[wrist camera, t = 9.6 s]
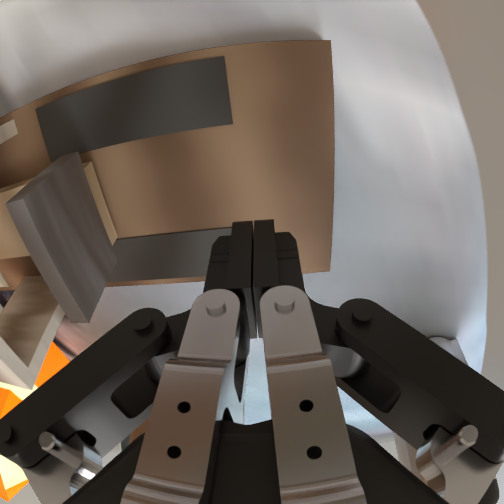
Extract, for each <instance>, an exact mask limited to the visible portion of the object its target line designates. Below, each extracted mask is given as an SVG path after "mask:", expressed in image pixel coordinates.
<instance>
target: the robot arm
mask: <svg viewBox="0 0 504 504" xmlns="http://www.w3.org/2000/svg"><path fill="white" fill-rule="evenodd" d="M257 326H258V335H259V338H263V342H264V352H265V362H266V371H267V381H268V390H269V399H270V409H271V420H267V421H264V422H260V423H256V424H252V425H244V416H243V406H244V397H245V389H246V380H247V372H248V363H249V355H248V354H249V347H250V339H253V338H257ZM337 386H338V387H339V388H341V389H342V390H343V391H344V392H345V393H347V394H348V395H349V396H350V397H351V398H353V399H354V400H355V401H356V402H357V403H359V404H360V405H361V406H362V407H364V408H365V409H366V410H367V411H368V412H370V413H371V414H372V415H373V416H375V417H376V418H377V419H378V420H380V421H381V422H382V423H383V424H385V425H386V426H387V427H388V428H390V429H391V430H392V431H393V434H394V438H395V443H396V448H397V453H398V458H399V461H397V460H396V459H395V458H394V457H393V456H392V455H391V454H389V453H388V452H387V451H386V450H385V449H384V448H383V447H381V446H380V445H379V444H378V443H377V442H376V441H375V440H374V439H372V438H371V437H370V436H369V435H367V434H366V433H364V432H363V431H361V430H359V429H357V428H355V427H353V426H351V425H348V424H346V422H345V418H344V414H343V409H342V405H341V401H340V397H339V393H338V389H337ZM148 418H149V421H148V424H147V428H146V432H144V433H143V434H141V435H140V436H138V437H137V438H136V439H135V440H133V441H132V442H131V443H130V444H129V445H128V446H127V447H126V448H125V449H124V450H123V451H121V452H120V453H119V454H118V455H117V456H116V457H115V458H114V459H113V460H112V461H111V462H109V463H108V464H107V465H106V466H105V467H104V468H103V467H102V459H101V458H102V457H103V456H105V455H106V454H107V453H108V452H110V451H111V450H112V449H113V448H114V447H116V446H117V445H118V444H119V443H120V442H121V441H123V440H124V439H125V438H126V437H127V436H128V435H130V434H131V433H132V432H133V431H134V430H135V429H137V428H138V427H139V426H140V425H141V424H142V423H143V422H144V421H146V420H147V419H148ZM0 455H2V456H3V457H5V458H7V459H8V460H10V461H12V462H14V463H15V464H17V465H18V466H19V467H20V468H21V469H22V470H23V472H24V474H25V476H26V477H27V479H28V481H29V483H30V485H31V487H32V488H33V490H34V492H35V494H36V495H37V497H38V499H39V500H40V502H41V504H496V503H497V501H498V499H499V488H498V483H497V480H496V479H494V478H496V474H497V472H498V470H499V468H500V467H501V465H502V463H503V462H504V391H503V390H501V389H500V388H499V387H497V386H496V385H494V384H493V383H492V382H490V381H489V380H487V379H486V378H485V377H483V376H482V375H480V374H479V373H478V372H476V371H475V370H473V369H472V368H471V367H469V366H468V364H467V361H466V359H465V357H464V354H463V352H462V350H461V348H460V345H459V343H458V341H457V339H454V340H448V339H446V338H443V337H432V338H427V337H426V336H424V335H423V334H421V333H420V332H418V331H417V330H415V329H414V328H412V327H411V326H409V325H408V324H407V323H405V322H404V321H402V320H401V319H399V318H398V317H396V316H395V315H393V314H392V313H390V312H389V311H387V310H386V309H384V308H383V307H381V306H380V305H378V304H377V303H375V302H373V301H371V300H367V299H361V298H357V299H352V300H349V301H346V302H345V303H343V304H342V305H341V306H340V308H334V307H328V306H324V305H321V304H318V303H316V302H314V301H313V300H312V299H311V298H309V297H308V295H307V294H306V292H305V289H304V283H303V277H302V271H301V265H300V259H299V253H298V247H297V241H296V239H295V238H294V237H293V235H292V234H291V233H290V232H275V228H274V219H266V220H254V226H253V220H252V221H237V222H233V224H232V232H231V235H229V236H219V237H218V239H217V240H216V241H215V242H214V243H213V245H212V249H211V254H210V259H209V264H208V269H207V275H206V280H205V286H204V291H203V293H202V294H201V295H200V296H198V297H197V298H196V299H195V301H194V303H193V305H192V308H191V309H190V310H188V311H186V312H183V313H180V314H177V315H173V316H170V317H165V315H164V314H163V313H162V312H161V311H160V310H158V309H155V308H143V309H140V310H137V311H135V312H133V313H132V314H130V315H129V316H128V317H127V318H125V319H124V320H123V321H121V322H120V323H119V324H117V325H116V326H115V327H114V328H112V329H111V330H110V331H109V332H107V333H106V334H105V335H103V336H102V337H101V338H100V339H98V340H97V341H96V342H94V343H93V344H92V345H91V346H89V347H88V348H87V349H86V350H84V351H83V352H82V353H81V354H79V355H78V356H77V357H76V358H74V359H73V360H72V361H71V362H69V363H68V364H67V365H66V366H64V367H63V368H62V369H61V370H59V371H58V372H57V373H56V374H54V375H53V376H52V377H51V378H49V379H48V380H47V381H46V382H44V383H43V384H42V385H41V386H40V387H38V388H37V389H36V390H35V391H33V392H32V393H31V394H30V395H28V396H27V397H26V398H25V399H24V400H22V401H21V402H20V403H19V404H18V405H16V406H15V407H14V408H13V409H12V410H10V411H9V412H8V413H7V414H6V415H4V416H3V417H2V418H1V419H0Z"/></svg>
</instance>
